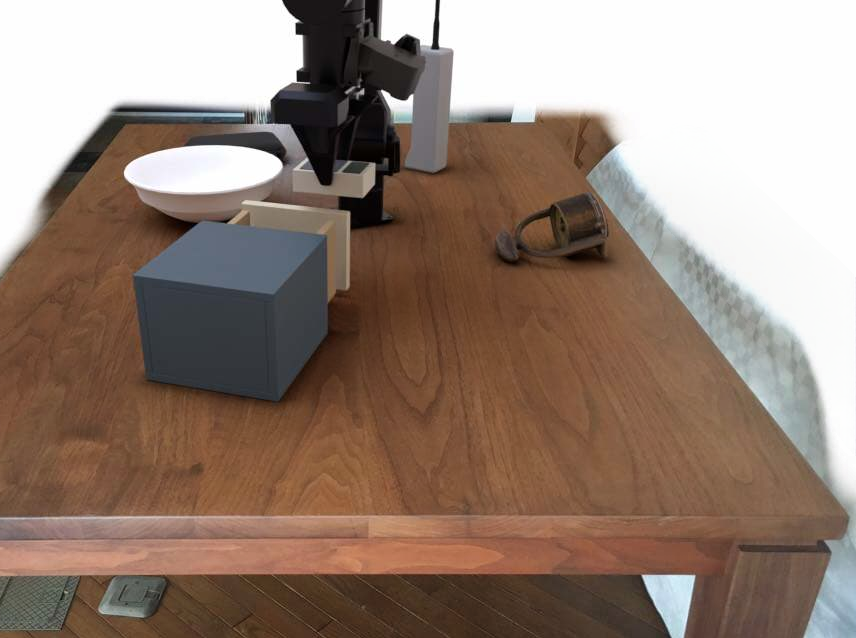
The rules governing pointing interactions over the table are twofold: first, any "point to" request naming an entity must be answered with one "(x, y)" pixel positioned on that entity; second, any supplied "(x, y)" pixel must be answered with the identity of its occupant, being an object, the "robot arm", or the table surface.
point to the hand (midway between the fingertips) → (333, 178)
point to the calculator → (336, 179)
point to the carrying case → (243, 142)
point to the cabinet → (233, 308)
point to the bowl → (203, 180)
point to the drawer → (308, 222)
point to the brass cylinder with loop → (563, 229)
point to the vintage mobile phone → (431, 107)
